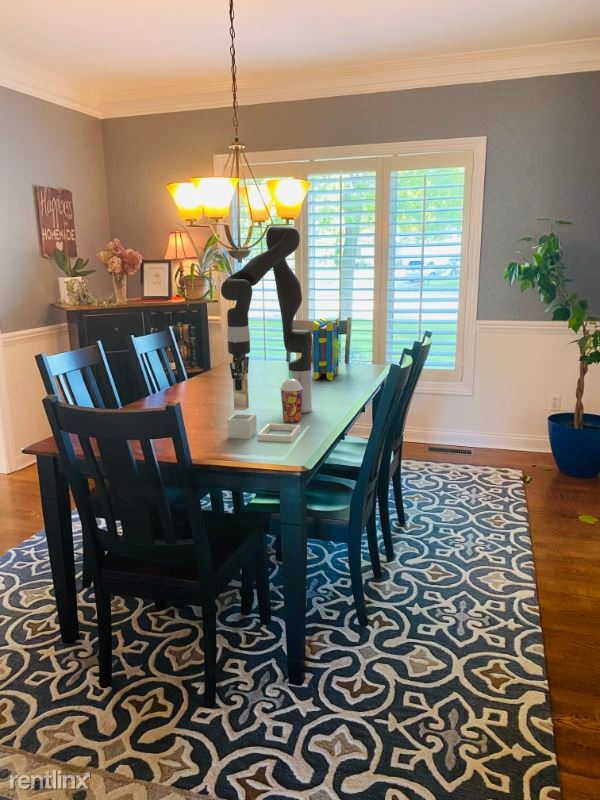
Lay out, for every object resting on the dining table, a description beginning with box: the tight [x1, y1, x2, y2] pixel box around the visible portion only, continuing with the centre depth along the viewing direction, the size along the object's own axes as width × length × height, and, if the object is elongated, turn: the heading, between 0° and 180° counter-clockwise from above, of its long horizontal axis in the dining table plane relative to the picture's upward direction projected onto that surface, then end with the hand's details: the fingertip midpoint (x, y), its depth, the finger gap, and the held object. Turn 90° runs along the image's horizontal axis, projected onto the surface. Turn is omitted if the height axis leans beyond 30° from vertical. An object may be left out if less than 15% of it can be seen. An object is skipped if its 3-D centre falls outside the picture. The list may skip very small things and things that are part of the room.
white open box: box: [226, 413, 258, 440], centre depth 206 cm, size 8×8×8 cm
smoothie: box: [279, 371, 303, 424], centre depth 222 cm, size 8×8×20 cm
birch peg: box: [232, 373, 250, 411], centre depth 203 cm, size 4×4×12 cm
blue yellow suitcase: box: [312, 317, 341, 382], centre depth 306 cm, size 14×23×30 cm, turn 166°
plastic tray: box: [256, 423, 302, 443], centre depth 206 cm, size 14×12×3 cm
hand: (240, 388), depth 203 cm, fingers closed on birch peg, 4 cm apart
